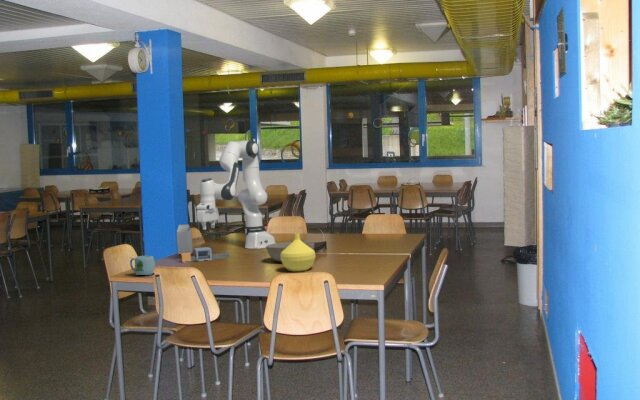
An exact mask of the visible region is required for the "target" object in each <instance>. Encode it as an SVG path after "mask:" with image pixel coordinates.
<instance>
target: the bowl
mask: <svg viewBox="0 0 640 400" xmlns="http://www.w3.org/2000/svg"><path fill="white" fill-rule="evenodd" d="M292 242H293V241H285V242H275V244H270V245H267V246H266V248H265V249H266V250H267V253H268V255H269V256H270V258H272V259H273V260H274V261H277V262H280V263H282V261H281V257H280V255H281V252H282V251H283V250H284V249H286V248H287V247H288V246H289V245H290V244H291V243H292ZM302 242H303V243H304V244H306V245H307V246H309V247H310V248H311V249H313V250H314V249H315V243H314V242H311V241H302ZM272 259H271V260H272Z"/></svg>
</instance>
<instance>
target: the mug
mask: <svg viewBox="0 0 640 400" xmlns="http://www.w3.org/2000/svg"><path fill="white" fill-rule="evenodd" d="M133 261H134V267H133ZM129 266H130V269H131V270H132V271H133V272H134V273H135V275H136V276H137V275H149V276H153V275H154V274H153V269H154V268H155V267H156V262H155V258H154V256H153V255H147V254H146V255H139V256H136V257H131V259H130V261H129ZM152 274H153V275H152Z"/></svg>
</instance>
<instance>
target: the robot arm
mask: <svg viewBox="0 0 640 400" xmlns="http://www.w3.org/2000/svg"><path fill="white" fill-rule="evenodd" d="M259 149H260V148H259V145H258V143H257V142H256V141H255V140H238V141H234V140H233V141H232V140H231V141H229V142H227V143H226V145H225V147H224V148H223V150H222V152H221V154H220V158H219V164H220V167H221V168H222V169H223V170H224V171H226V172H229V175H228V180H227V182H225V183H216V182H215V181H214V178H203V179H202V180H201V181H200V184H199V195H200V200H199V202H200V203H198V204H197V206H196V207H195V208H196V219H197V222H198V223H201V226H202V230H204V231H206V230H207V228H208V226H207V225H206V224H207V222H208V223H209V222H211V223H210V229H214V228H215V225H216V221H218V220H219V218H220V215H219V209H218V207H217V205H216V200H224V201H231V200H233V199H234V198H235V196H236V195H237V200H238V201H239V203H240V204H241V207H242V210H243V213H244V218H245V226H244V228H245V229H244V232H245V236H246V237H245V244H244V248H245V249H250V250H251V249H255V250H258V249H266V246H267V245H270V244H275V243H276V240H275V237H274V235H272V234H271V233H270V232H268V231H267V230H268V226H265V225H263V214H262V212H261V211H260V209H259V206H261V205H265V204H266V202H267V201H268V193H267V192H266V190H264V187H263V184H262V181H261V176H260V163H259V162H260V161H259V158H258V155H259ZM239 159H242V161H241V165H242V167H241V169H242V171H241V172H242V180H243V182H244V183H245V185H246V188H244V189H242V190H240V191H239V192H238V194H236V193H237V184H238V179H239V174H240V165H239V163H238V162H239Z"/></svg>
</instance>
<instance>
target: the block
mask: <svg viewBox="0 0 640 400" xmlns="http://www.w3.org/2000/svg"><path fill="white" fill-rule="evenodd" d="M191 254H192V253H181V255H180V256H181V262H184V263H186V262H185V261H191V256H192V255H191ZM191 262H192V261H191Z"/></svg>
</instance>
